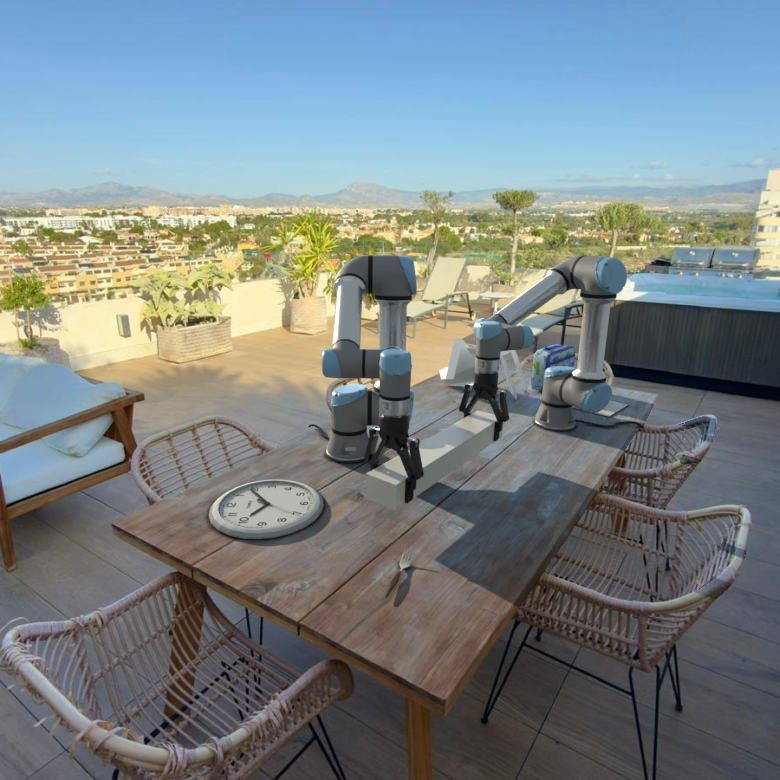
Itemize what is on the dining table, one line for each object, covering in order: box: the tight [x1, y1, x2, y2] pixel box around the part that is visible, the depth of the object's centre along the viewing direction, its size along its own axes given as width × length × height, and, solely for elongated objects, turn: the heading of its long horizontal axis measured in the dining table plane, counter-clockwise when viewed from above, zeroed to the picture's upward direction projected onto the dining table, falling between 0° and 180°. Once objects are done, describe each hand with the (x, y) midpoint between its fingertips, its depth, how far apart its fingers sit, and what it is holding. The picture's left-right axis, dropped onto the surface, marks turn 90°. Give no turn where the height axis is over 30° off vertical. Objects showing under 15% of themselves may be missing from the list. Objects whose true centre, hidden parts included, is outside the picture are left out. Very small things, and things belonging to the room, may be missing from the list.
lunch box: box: [530, 343, 576, 392], centre depth 248 cm, size 26×11×21 cm, turn 134°
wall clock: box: [208, 478, 324, 540], centre depth 141 cm, size 30×2×30 cm
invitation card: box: [573, 400, 629, 418], centre depth 226 cm, size 21×1×15 cm
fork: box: [385, 547, 415, 599], centre depth 114 cm, size 3×16×2 cm, turn 160°
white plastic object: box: [438, 310, 531, 400], centre depth 245 cm, size 37×45×31 cm
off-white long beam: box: [365, 410, 503, 512], centre depth 152 cm, size 60×10×7 cm, turn 143°
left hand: (392, 494), depth 134 cm, fingers closed on off-white long beam, 10 cm apart
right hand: (481, 436), depth 172 cm, fingers closed on off-white long beam, 10 cm apart
